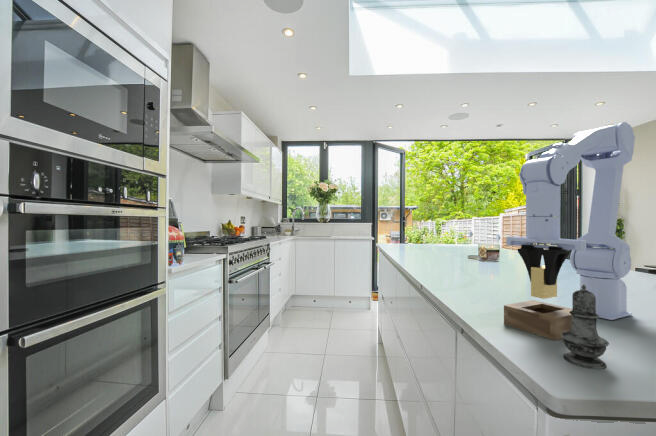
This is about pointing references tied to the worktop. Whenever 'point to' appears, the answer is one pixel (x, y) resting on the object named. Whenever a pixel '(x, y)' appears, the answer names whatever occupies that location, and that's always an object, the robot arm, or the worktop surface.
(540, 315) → the walnut box
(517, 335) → the worktop surface
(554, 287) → the block
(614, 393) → the worktop surface
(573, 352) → the salt shaker
